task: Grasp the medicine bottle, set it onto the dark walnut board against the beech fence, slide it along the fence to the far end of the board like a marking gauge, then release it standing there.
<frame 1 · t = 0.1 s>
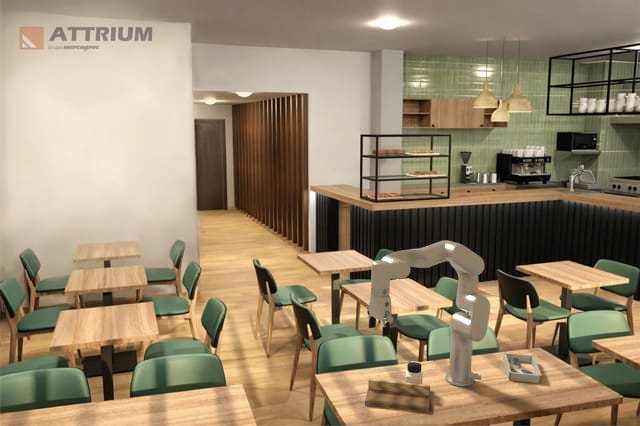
hand: (379, 331, 226), 31 cm above the table, tool pointing down, fingers open, 9 cm apart
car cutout: (521, 370, 263), resting in grey tray
medicine bottle: (413, 389, 244), on the table
grey tray: (521, 370, 263), on the table
board: (397, 401, 232), on the table
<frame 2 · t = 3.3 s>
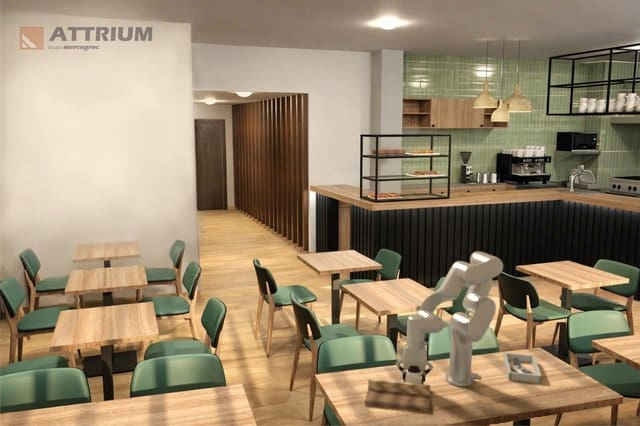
hand: (413, 381, 243), 3 cm above the table, tool pointing down, fingers closed on medicine bottle, 7 cm apart
medicine bottle: (413, 389, 244), on the table, touching gripper
everything else where it was.
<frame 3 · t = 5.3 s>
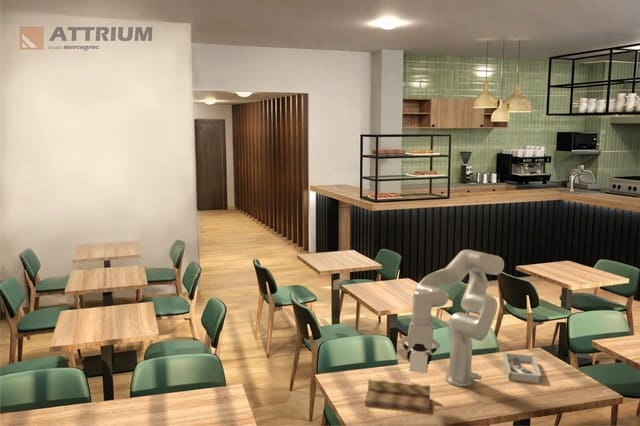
hand: (419, 361, 229), 18 cm above the table, tool pointing down, fingers closed on medicine bottle, 7 cm apart
medicine bottle: (418, 369, 229), point 15 cm above the table, touching gripper
everything else where it was.
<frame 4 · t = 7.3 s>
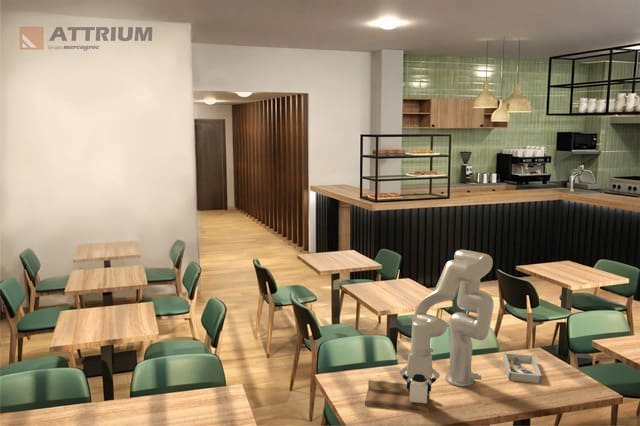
hand: (418, 391, 229), 6 cm above the table, tool pointing down, fingers closed on medicine bottle, 7 cm apart
medicine bottle: (418, 399, 229), point 3 cm above the table, touching gripper
everything else where it was.
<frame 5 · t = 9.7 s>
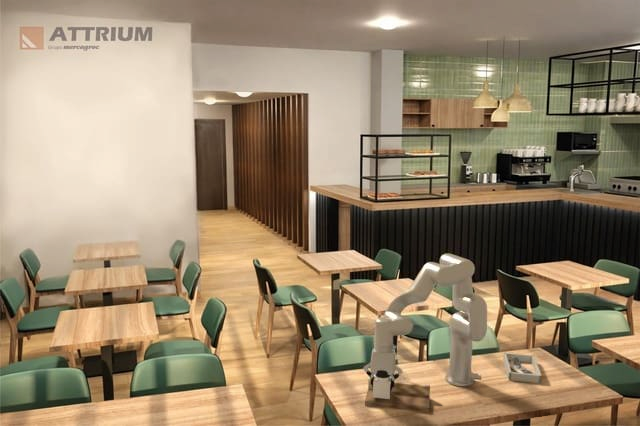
hand: (382, 387, 232), 6 cm above the table, tool pointing down, fingers closed on medicine bottle, 7 cm apart
medicine bottle: (382, 395, 232), point 3 cm above the table, touching gripper
everything else where it was.
when the fingers open (5 cm above the table, at t = 11.7 s): medicine bottle stays where it is, resting on board.
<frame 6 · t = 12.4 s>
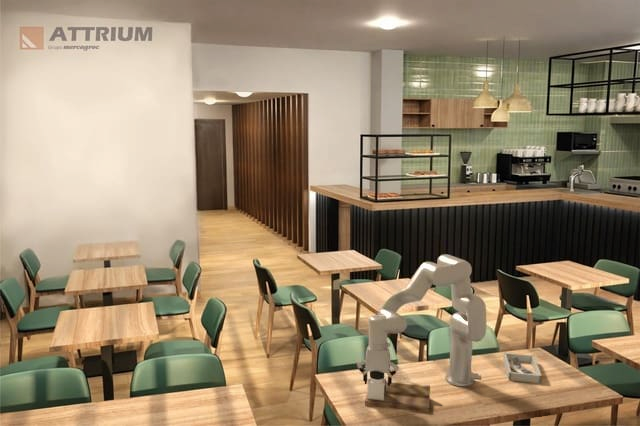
hand: (377, 383, 232), 7 cm above the table, tool pointing down, fingers open, 9 cm apart
medicine bottle: (376, 396, 233), point 2 cm above the table, touching board
everything else where it was.
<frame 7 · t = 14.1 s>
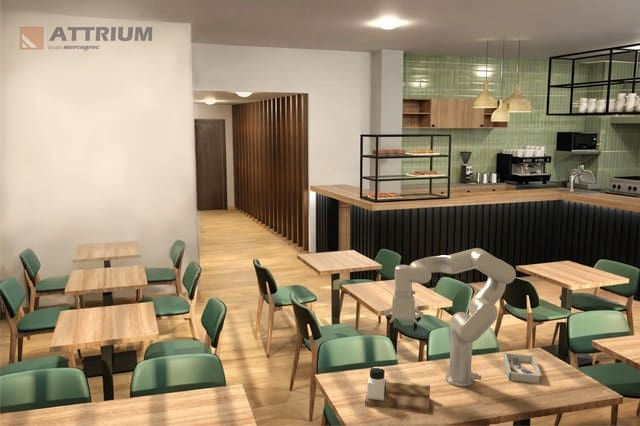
hand: (403, 330, 245), 25 cm above the table, tool pointing down, fingers open, 9 cm apart
nothing on the table moved.
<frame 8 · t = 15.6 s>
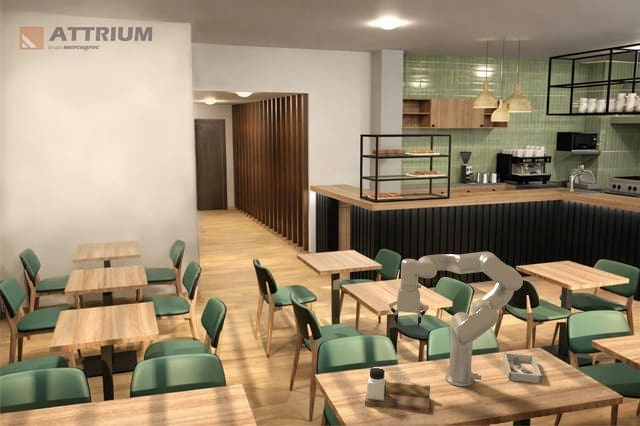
hand: (407, 323, 249), 26 cm above the table, tool pointing down, fingers open, 9 cm apart
nothing on the table moved.
at the end: medicine bottle inside the target area (0.7 cm from its centre), point 1.8 cm above the table; medicine bottle tilted 0°; the gripper is holding nothing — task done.
